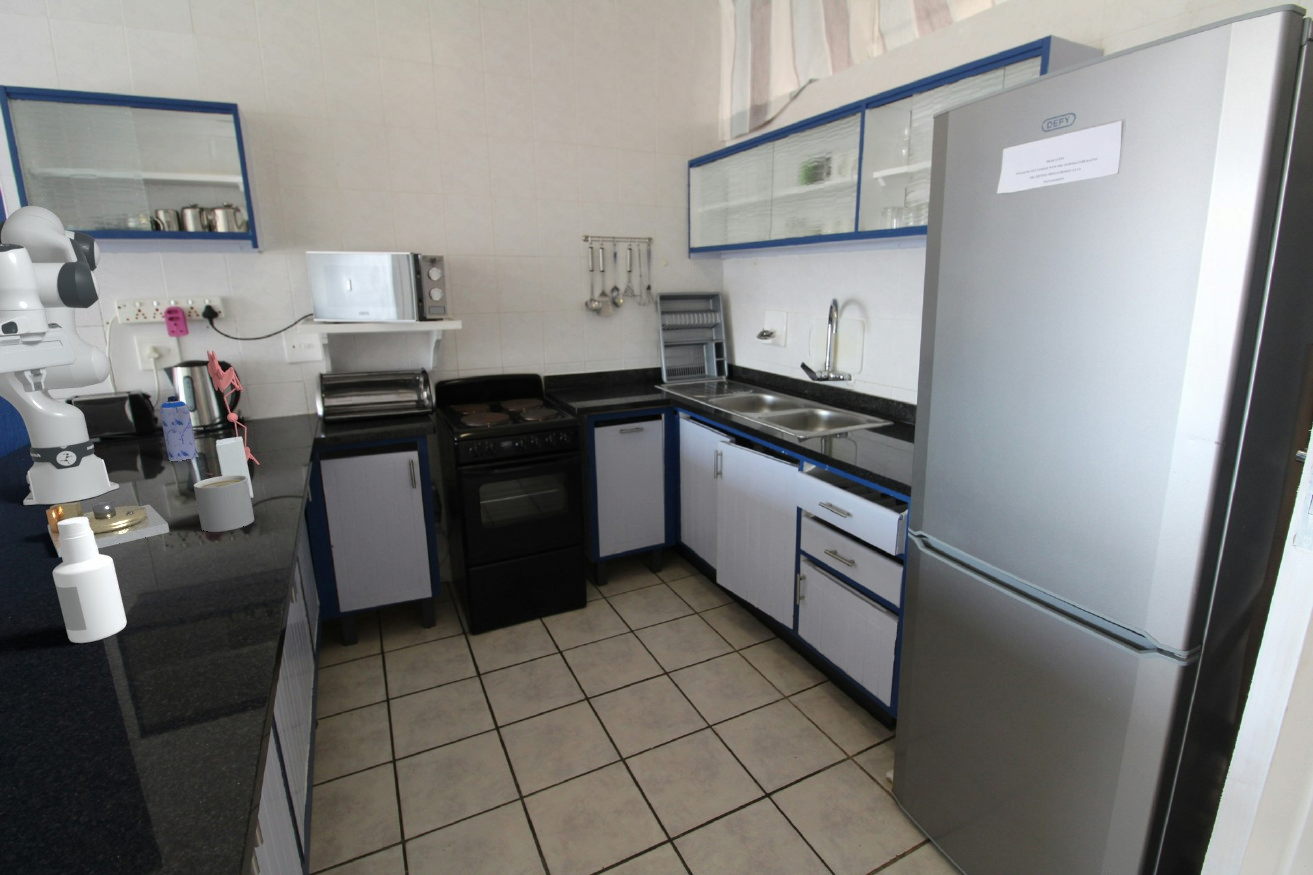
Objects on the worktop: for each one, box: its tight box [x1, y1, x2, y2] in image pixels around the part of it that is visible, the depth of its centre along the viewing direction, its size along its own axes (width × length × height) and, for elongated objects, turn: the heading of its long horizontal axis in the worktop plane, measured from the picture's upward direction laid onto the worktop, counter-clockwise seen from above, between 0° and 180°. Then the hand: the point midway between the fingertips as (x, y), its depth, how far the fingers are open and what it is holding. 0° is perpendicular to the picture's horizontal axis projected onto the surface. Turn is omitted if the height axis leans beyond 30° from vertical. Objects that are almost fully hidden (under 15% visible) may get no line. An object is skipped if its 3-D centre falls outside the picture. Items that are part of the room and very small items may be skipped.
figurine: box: [201, 350, 260, 475], centre depth 192 cm, size 15×26×35 cm, turn 42°
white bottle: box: [52, 517, 128, 644], centre depth 97 cm, size 7×7×18 cm
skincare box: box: [215, 436, 254, 499], centre depth 165 cm, size 8×6×15 cm
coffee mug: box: [193, 475, 255, 533], centre depth 146 cm, size 13×10×10 cm
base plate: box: [45, 504, 170, 558], centre depth 141 cm, size 20×18×7 cm
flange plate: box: [49, 501, 147, 533], centre depth 141 cm, size 16×14×5 cm
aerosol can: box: [159, 395, 199, 462], centre depth 205 cm, size 8×8×20 cm
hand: (34, 391), depth 138 cm, fingers closed
